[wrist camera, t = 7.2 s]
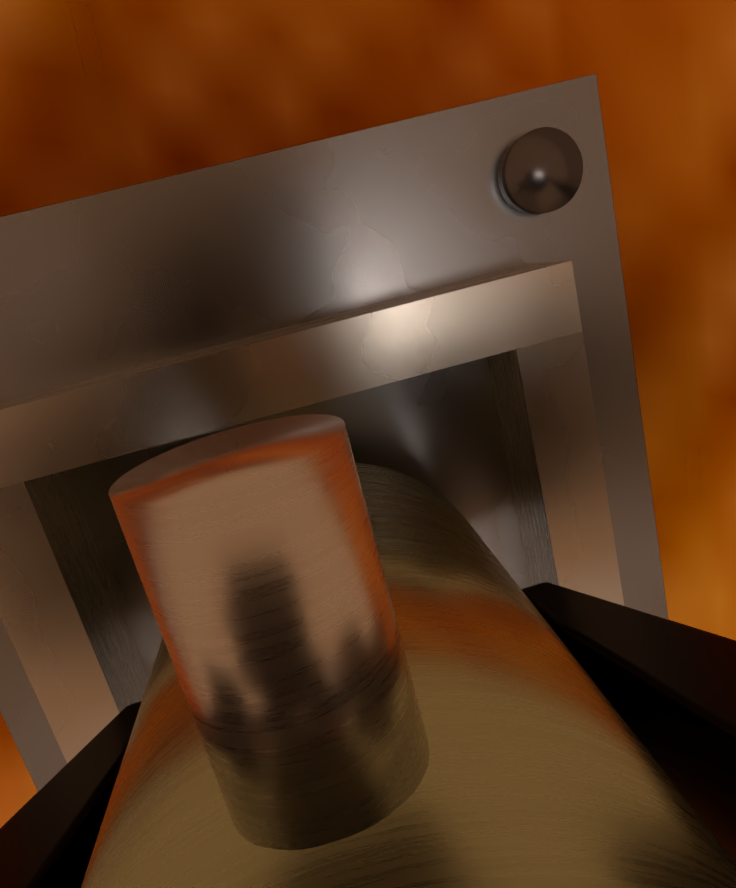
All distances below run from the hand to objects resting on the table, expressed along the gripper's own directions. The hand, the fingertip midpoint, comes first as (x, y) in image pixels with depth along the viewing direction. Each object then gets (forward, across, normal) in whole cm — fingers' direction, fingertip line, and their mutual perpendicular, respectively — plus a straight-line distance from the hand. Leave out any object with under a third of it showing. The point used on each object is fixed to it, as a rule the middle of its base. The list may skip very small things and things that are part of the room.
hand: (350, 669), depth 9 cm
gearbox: (+6, +2, 0) cm, 6 cm away
